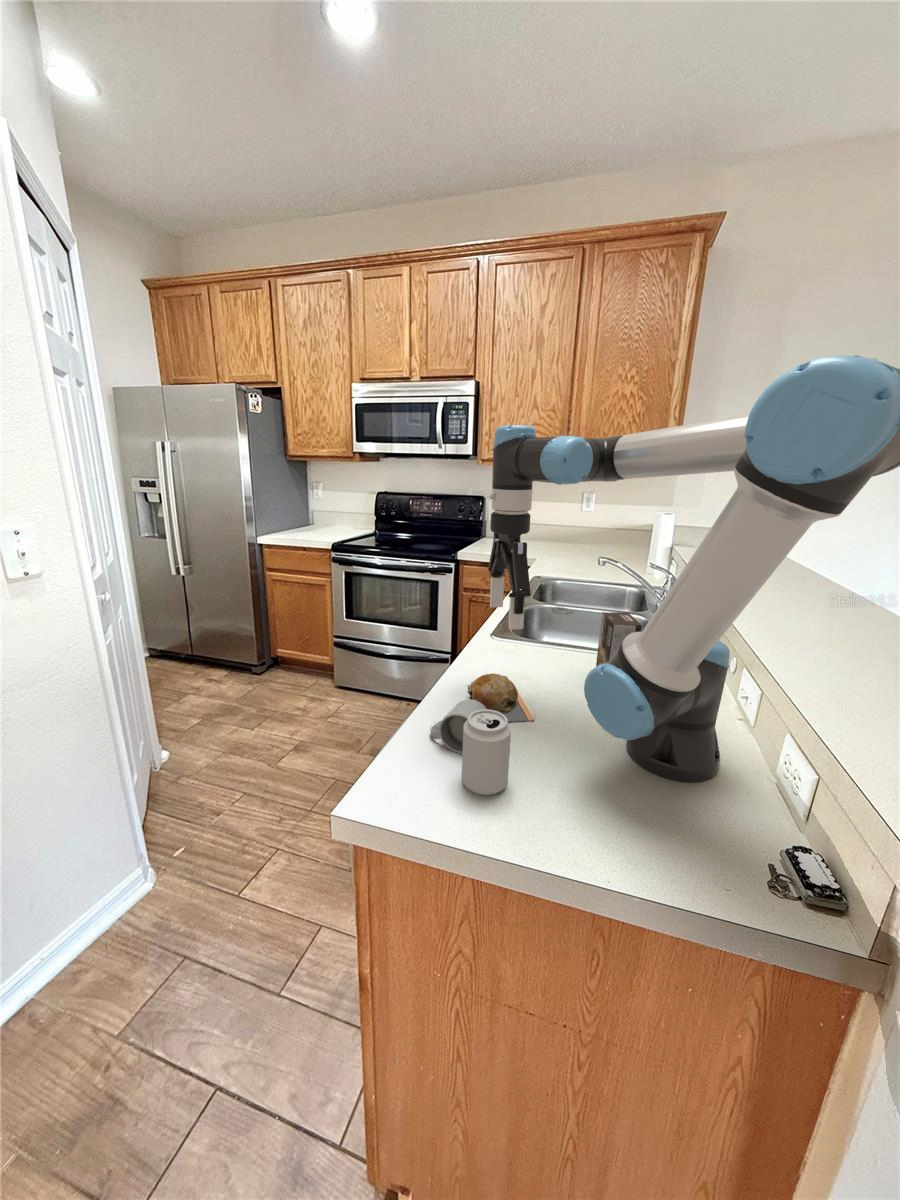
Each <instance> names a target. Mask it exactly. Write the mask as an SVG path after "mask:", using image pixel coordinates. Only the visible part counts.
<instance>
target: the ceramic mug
mask: <svg viewBox="0 0 900 1200" xmlns="http://www.w3.org/2000/svg"><path fill="white" fill-rule="evenodd" d="M483 709H487V708H486V707H485V706H484V705H483V704H482V703H481V702H479V701H477V700H473V699H470V698H468V699H464V700H461V701H460V702H459V703H457V704H456V705H455V706H453V708H452V709H451V710H450V711H449V712H448V713H447V714H446V715H445V716H443V718H442V720H439V721H438V722H436V723H435V724H433V725H432V726H431V727H430V733H431V737H432V738H433V739H436V740H440V739H441V741H442V743H443V744H444V746H445V747H447V749H448V750H451V751H453V752H455V753H459V754H462V755H463V728H464V723H465V722H466V721H467V720H468V716H469V715H470V714H471V713H473V712H474V711H477V710H483Z"/></svg>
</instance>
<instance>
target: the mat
mask: <svg viewBox="0 0 900 1200" xmlns="http://www.w3.org/2000/svg"><path fill="white" fill-rule="evenodd" d="M469 687H471V684H467V689H468V688H469ZM517 692H518V690H517ZM528 708H529V707H528V706H527V705H526V703H525V702H524V700H523V698H522V697H521V695H520V693H519V692H518V698H517V701H516V703H515V704H514V706H513V707H512V708H511V710H510V711H508V712H500V713H502V714H503V715H504V716H506V718H507V720H508V724H509V723H525V722H535V719H534V717H533V715H532V713H531V712H530V710H529V709H528Z"/></svg>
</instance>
